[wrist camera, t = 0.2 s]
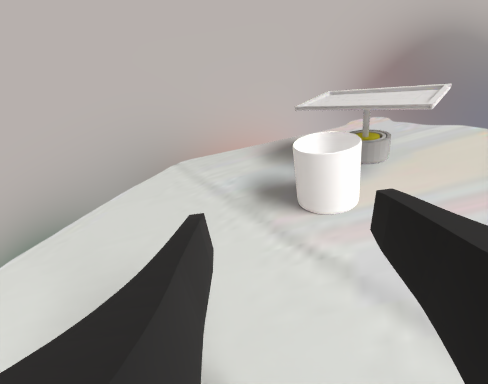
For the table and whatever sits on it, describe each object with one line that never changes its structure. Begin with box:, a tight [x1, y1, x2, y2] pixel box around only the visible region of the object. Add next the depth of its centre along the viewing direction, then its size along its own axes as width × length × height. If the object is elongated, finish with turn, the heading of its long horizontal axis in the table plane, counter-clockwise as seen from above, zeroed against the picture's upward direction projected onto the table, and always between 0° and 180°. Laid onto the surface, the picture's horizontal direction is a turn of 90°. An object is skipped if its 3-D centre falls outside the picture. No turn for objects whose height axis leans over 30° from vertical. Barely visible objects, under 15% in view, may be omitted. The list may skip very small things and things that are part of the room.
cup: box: [293, 131, 362, 215], centre depth 47 cm, size 12×12×12 cm
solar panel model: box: [295, 84, 452, 164], centre depth 59 cm, size 28×17×15 cm, turn 47°
